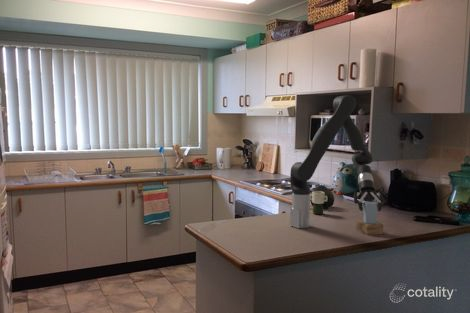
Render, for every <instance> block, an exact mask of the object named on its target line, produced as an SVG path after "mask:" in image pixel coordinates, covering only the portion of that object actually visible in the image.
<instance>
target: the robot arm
mask: <svg viewBox="0 0 470 313" xmlns="http://www.w3.org/2000/svg"><path fill="white" fill-rule="evenodd" d="M356 106H357V101H356V97H354V96H353V95H346V94H345V95H339V96H336V97H335V98H334V99H333V102H332V107H333V110H334V113H333V115H332V116H331V117H330V118H329V119H328V120H326V121H325V122H324V123H323V124H322V125H321V126H320V127H319V128H318V130H317V131H316V133H315V134H314V136H313V139H312V140H311V143H310V144H311V146H310V149H309V152H308V154H307V156H306V158H305V159H304V161H299V162H298V161H297V162H295V163H293V164H292V166H291V168H290V173H289V174H290V176H289V177H290V188H291V207H290V211H289V212H290V217H289V218H290V222H289V223H290V227H292V226H293V227H292V228H296V229H306V228H309V227H310V222H311V221H310V219H311V218H310V215H311V202H310V194H311V188H310V186H309V185H308V181H309V180H311V179H312V177H313V175H314V173H315V172H316V169H317V167H318V165H319V163H320V161H321V160H322V158H324V155H325V153H326V152H327V150H328V149H329V147H330V146H331V144H332V143H333V142H334V140H335V137H336V136H337V134H338V133H339V131H340V129H341V128H343V129H344V131H345V135H346V136H347V140H348V142H349V146H350V147H351V150H353V151H360V152H358V153H357V152H356V153H354V154H353V155H352V157H351V162H352V164H353V166H354V167H355V169H356V173H357V181H358V182H357V184H358V188H359V192H357V191H356V190H355V191H354V193H353V203H354V204H355V205H356V204H357V206H358V210H360V212H362V211H364V206H363V203H364V201H365V202H375V203H377V212H381V210H382V208H383V207H382V205H384V203H385V197H384V193H383V192H382V191H379V192H376V186H375V180H374V177H373V175H372V174H373V173H372V169H371V166H369V164H371V163H372V162H373V154H372V153H371V152H370V151H369V149H368V148H367V146H366V144H365V143H364V142H365V141H364V139H363V137H362V133H361V131H360V129H359V128H358V127H357V125H356V123H355V122H354V121H353V119H352V117H351V115H352V113H353V111H355V109H356ZM377 196H378V197H377ZM358 197H360V199H358Z"/></svg>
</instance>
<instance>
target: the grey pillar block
mask: <svg viewBox="0 0 470 313" xmlns="http://www.w3.org/2000/svg"><path fill="white" fill-rule="evenodd" d="M377 212H378V207H377V203H375V202H373V201H365V200H364V201H363V220H362V221H364V222H365V223H366V224H376V222H377V214H378V213H377Z"/></svg>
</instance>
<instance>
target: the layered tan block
mask: <svg viewBox="0 0 470 313" xmlns="http://www.w3.org/2000/svg"><path fill="white" fill-rule="evenodd" d="M355 223H356V224H355V226H356V228H355V230H356V231H357V232H359V233H361V234H363V235H366V236H371V235H373V236H374V235H383V234H384V224H383V223H381V222H378V221H376V224H366V223H365V222H364V221H363V220H356V222H355Z"/></svg>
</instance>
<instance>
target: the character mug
mask: <svg viewBox="0 0 470 313" xmlns="http://www.w3.org/2000/svg"><path fill="white" fill-rule="evenodd" d="M311 193H312V194H311ZM311 193H310V200H312V202H313V203H315V204H314V206H312V213H313V214H314V215H322V214H324V208H323V205H322V203H324V201H327V196H325V193H324V192H322V191H314V192H312V191H311ZM311 196H312V198H311ZM325 197H326V200H324V198H325Z"/></svg>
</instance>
